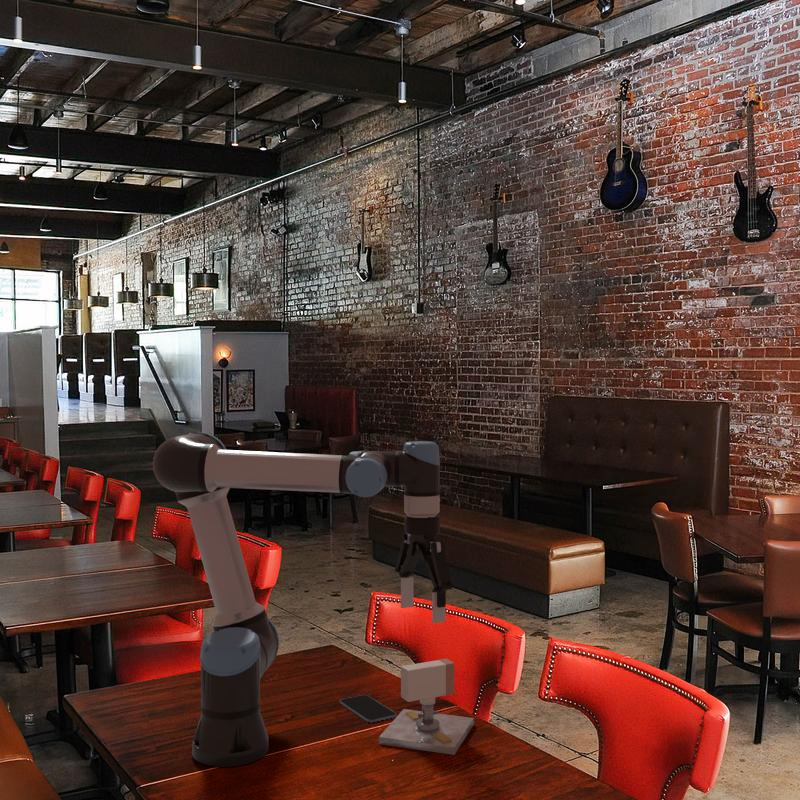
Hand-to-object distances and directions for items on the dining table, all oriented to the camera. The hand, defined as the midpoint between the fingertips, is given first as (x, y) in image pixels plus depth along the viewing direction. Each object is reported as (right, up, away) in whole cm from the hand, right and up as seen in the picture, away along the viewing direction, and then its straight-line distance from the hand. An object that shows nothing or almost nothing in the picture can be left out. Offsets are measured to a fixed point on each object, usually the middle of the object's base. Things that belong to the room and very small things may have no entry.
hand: (422, 614), depth 187 cm
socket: (+1, -25, -1) cm, 25 cm away
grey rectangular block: (+1, -18, -1) cm, 18 cm away
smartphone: (-12, -25, +13) cm, 31 cm away
